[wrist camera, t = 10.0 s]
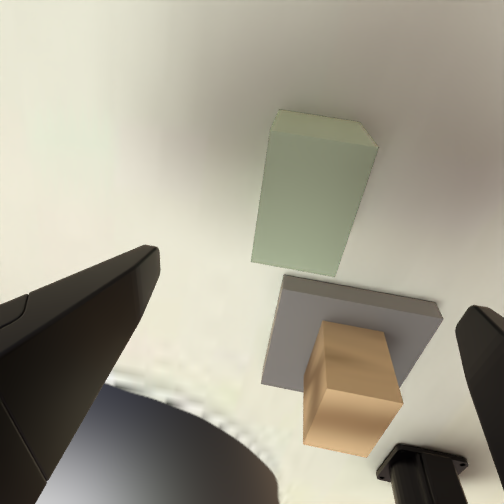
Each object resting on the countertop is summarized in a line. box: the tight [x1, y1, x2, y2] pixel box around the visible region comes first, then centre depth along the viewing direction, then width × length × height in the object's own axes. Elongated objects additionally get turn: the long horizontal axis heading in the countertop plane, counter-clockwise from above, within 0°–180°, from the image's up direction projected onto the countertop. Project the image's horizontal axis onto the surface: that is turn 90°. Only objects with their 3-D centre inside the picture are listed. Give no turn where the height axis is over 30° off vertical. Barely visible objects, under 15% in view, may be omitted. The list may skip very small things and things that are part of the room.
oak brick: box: [303, 321, 404, 458], centre depth 20 cm, size 6×4×5 cm, turn 173°
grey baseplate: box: [261, 275, 443, 392], centre depth 23 cm, size 10×10×2 cm
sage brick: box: [251, 109, 379, 277], centre depth 15 cm, size 6×4×5 cm, turn 173°
